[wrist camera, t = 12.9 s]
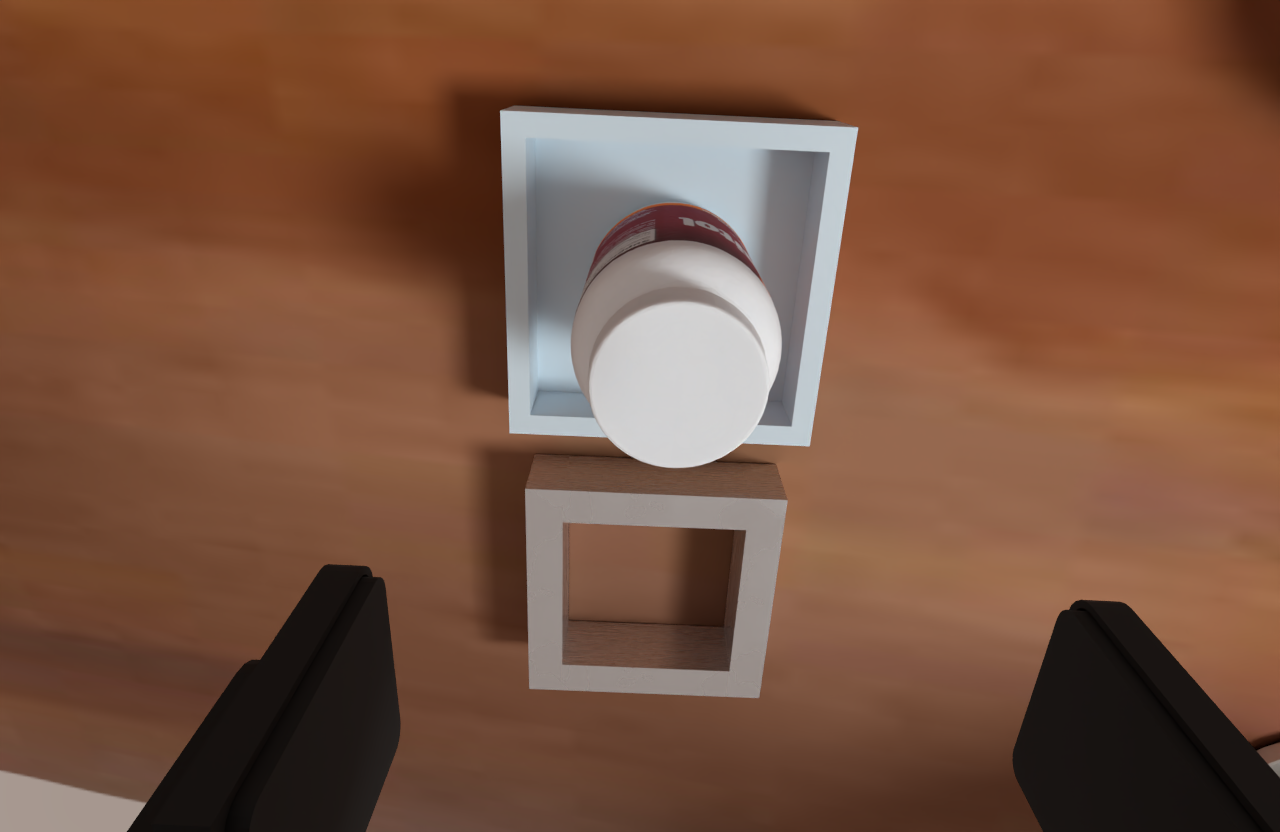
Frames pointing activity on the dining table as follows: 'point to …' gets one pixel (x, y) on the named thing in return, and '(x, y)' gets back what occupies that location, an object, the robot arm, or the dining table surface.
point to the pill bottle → (675, 337)
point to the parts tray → (654, 173)
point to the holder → (651, 650)
